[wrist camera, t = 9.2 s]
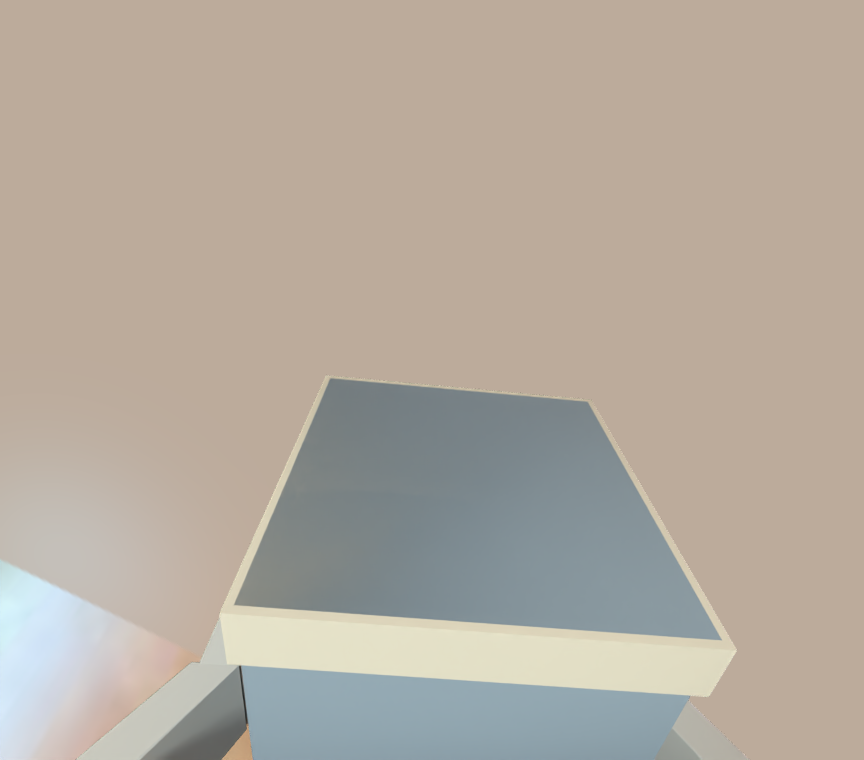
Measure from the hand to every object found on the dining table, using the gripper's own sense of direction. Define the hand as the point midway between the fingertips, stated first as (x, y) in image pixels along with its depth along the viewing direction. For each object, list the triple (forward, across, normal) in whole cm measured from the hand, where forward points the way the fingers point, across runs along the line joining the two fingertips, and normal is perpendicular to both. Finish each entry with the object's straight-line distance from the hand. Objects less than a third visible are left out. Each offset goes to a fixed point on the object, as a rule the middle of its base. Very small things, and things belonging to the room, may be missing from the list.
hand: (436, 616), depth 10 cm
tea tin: (-1, 0, +6) cm, 6 cm away
